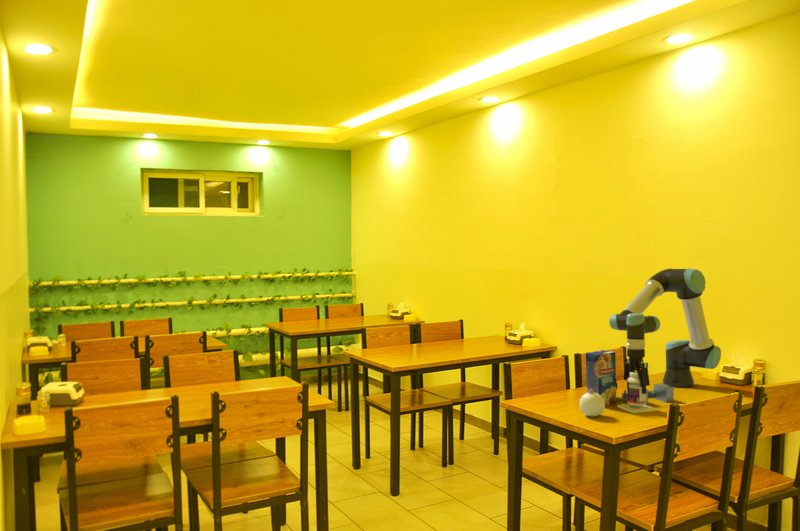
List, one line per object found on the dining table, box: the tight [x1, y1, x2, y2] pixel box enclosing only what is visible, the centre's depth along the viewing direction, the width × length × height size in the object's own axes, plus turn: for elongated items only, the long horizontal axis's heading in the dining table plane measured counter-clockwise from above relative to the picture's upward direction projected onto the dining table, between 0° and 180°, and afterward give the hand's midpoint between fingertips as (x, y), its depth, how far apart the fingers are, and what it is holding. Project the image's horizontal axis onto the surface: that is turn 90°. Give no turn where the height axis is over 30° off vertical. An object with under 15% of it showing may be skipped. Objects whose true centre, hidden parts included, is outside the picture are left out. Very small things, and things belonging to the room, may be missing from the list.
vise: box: [621, 382, 675, 405], centre depth 304 cm, size 24×14×7 cm, turn 105°
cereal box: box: [585, 349, 617, 407], centre depth 299 cm, size 12×8×24 cm, turn 123°
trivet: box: [616, 403, 658, 414], centre depth 288 cm, size 12×12×1 cm
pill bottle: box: [626, 371, 647, 406], centre depth 288 cm, size 8×8×14 cm
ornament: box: [579, 389, 606, 418], centre depth 278 cm, size 10×10×12 cm
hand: (636, 398), depth 288 cm, fingers closed on pill bottle, 8 cm apart
